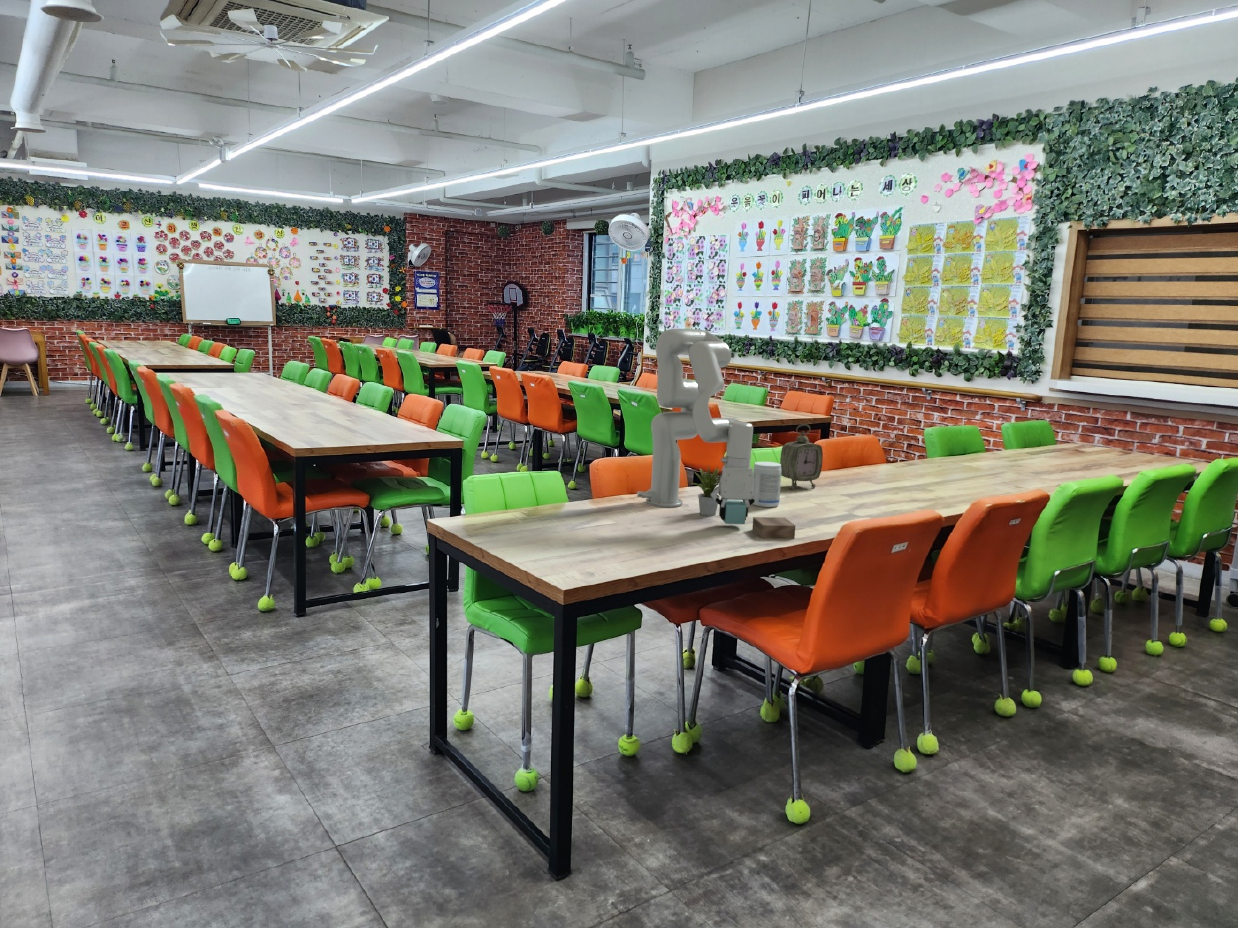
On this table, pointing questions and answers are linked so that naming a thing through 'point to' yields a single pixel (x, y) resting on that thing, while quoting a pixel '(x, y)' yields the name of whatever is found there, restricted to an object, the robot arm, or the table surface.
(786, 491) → the table surface
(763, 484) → the supplement tub
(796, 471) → the tabletop clock
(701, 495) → the house plant
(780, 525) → the walnut base
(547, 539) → the table surface
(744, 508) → the teal cube
